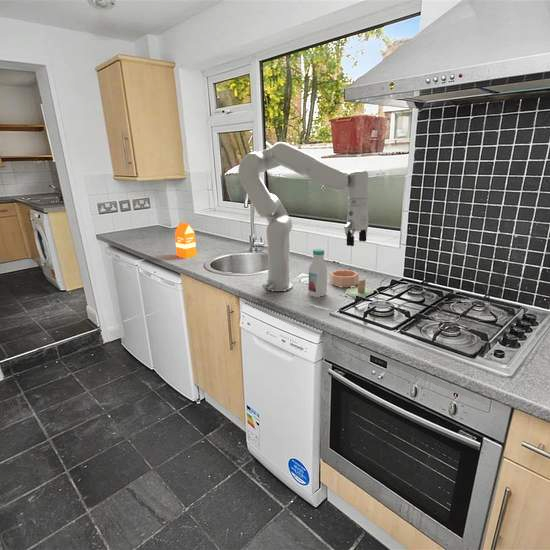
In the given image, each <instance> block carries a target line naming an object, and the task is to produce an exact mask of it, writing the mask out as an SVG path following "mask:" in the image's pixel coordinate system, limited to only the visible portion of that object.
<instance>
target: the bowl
mask: <svg viewBox="0 0 550 550" xmlns="http://www.w3.org/2000/svg"><path fill="white" fill-rule="evenodd" d="M359 275H360V273H358V272H357V271H355V270H349V269H339V270H338V269H337V270H334V271H331V272H330V273H329V282H330V284H331V283H332V284H333V285H337V286H342V287H350V288H351V286H355V285H357V286H358V279H360V278H359ZM332 284H331V285H332ZM333 285H332V286H333ZM355 287H356V286H355Z"/></svg>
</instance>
